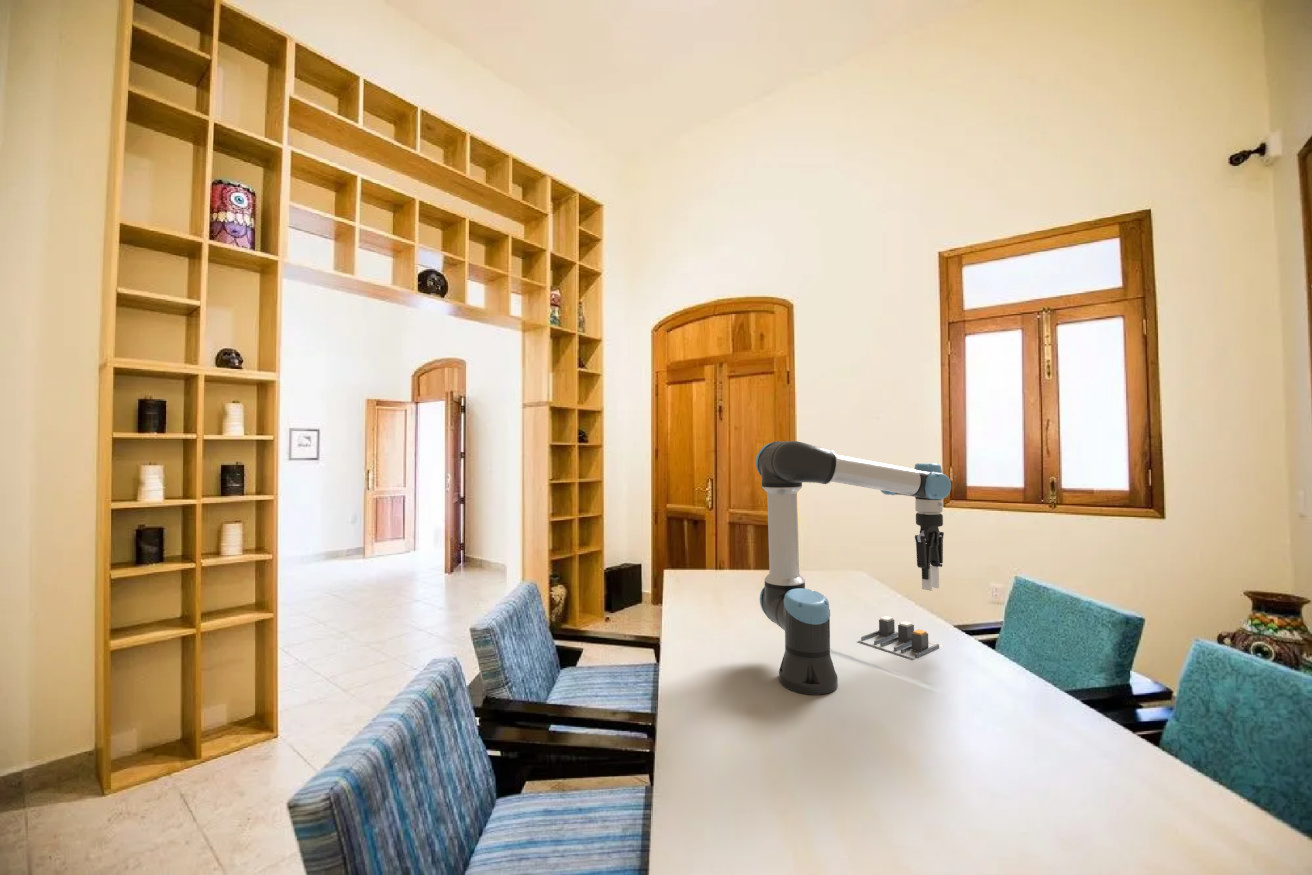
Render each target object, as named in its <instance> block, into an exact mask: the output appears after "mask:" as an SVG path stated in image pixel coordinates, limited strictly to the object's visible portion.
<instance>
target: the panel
mask: <svg viewBox="0 0 1312 875" xmlns="http://www.w3.org/2000/svg"><path fill="white" fill-rule="evenodd" d="M876 636H880V635H879V629H878V630H876V631H873V632H870V633H868V634H866V635H863V636H861V638H860V640H858V641H856V643H858V644H860V645H864V646H866V647H870V648H873V649H876V650H878V651H882V652H884V653H888V654H890V655H891V654H892V655H894V656H898V657H900V658H902V659H903V658H904V659H907V660H910V661H914V660H915V659H918V658H920V657H923V656H925V655H927V654H929V653H931V652H934V651H935V650H938V649H939V648H941V647H944V645H942V644H939V643H936V642H933V641H930V640H928V645H929V644H930V645H932V646H928V648H927V649H925V650H922V651H920V652H915V654H914V658H913V657H911V656H907V655H904V653H907V652H910V651H913V650H912V640H910V641H907V642H905V643H903V642H902V643H900V644H898V645H896V646H893V651H892V650H889V649H886V648H883V647H885V646H888V645H890V644H893V643H894V642H897V641H898V631H895V633H893V634H890V635H888V636H885V637H884V636H882V637H880V638H878V639H875V640H874V641H873V644H874V645H873V644H870V643H867V642H864V641H866V640H868V639H871V638H874V637H876ZM898 642H899V641H898ZM879 644H880V646H877V645H879ZM875 645H876V646H875ZM898 651H900V653H898Z"/></svg>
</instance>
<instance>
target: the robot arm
mask: <svg viewBox="0 0 1312 875" xmlns="http://www.w3.org/2000/svg"><path fill="white" fill-rule="evenodd" d="M755 467H756V470H757V472H758V473H759V475H760V476H761V477H760V478H761V488H762V489H763V490H764V491H765V492H766V496H767V498H766V500H767V526H768V527H767V528H768V529H767V530H768V531H767V533H768V564H769V568H768V569H769V573H768V574H767V575H766V576H765V577H764V586H763V588H762V589H761V591H760V593H759V604H760V608H761V611H762V612H763V613H764V615H765V616H766V617H767V618H768V619H769V620H770V621H771V622H773V624H775V625H777V626H778V627H780V628H781V629H782V630H783V631H784V654H783V656H782V661H781V663H780V667H779V669H778V681H779V683H780V684H781V685H782V686H783V687H784V688H786V689H788V690H790V691H792V692H796V693H799V694H804V695H805V694H806V695H815V696H816V695H817V696H818V695H820V696H821V695H827V694H830V693H832V692H834V691H836V690H837V688H838V686H839V685H838V679H839V678H838V674H837V672H836V670H835V667H834V663H833V660H832V656H831V626H830V625H831V624H830V623H831V619H830V617H831V610H830V602H829V600H828V598H827V597H826V596H825V595H824V594H822V593H821V592H819V591H817V590H812V589H809V588H806V580H805V578H804V577H803V576H801V575H800V558H799V556H800V554H799V551H800V550H799V523H798V522H799V521H798V520H799V518H798V516H799V515H798V514H799V512H798V492H799V491H800V490H801V489H802V488H803V483H809V484H811V483H813V484H814V483H815V484H822V485H828V484H830V483H831V482H832V483H836V484H837V483H838V484H844V485H850V486H855V487H861V488H868V489H872V490H878V491H880V492H881V493H882V494H883V495H888V496H889V495H891V496H898V495H899V496H906V497H913V498H915V505H914V506H915V512H916V513H915V525H917V526H919V534H915V535H914V540H915V547H916V566H917V568H920V569H921V589H922V590H925V591H930V592H931V591H933V588H934V589H940V568H942V567H943V562H944V555H943V554H944V534H945V533H944V531H940V529H939V528H940V527H943V525H944V515H943V514H942V512H944V511H943V506H944V503H943V500H944V499H946V498H947V497H948V496H949V495H950V493H951V490H952V482H951V480H950V477H949V476H948V475H946V474H944V473H943V471H942V466H941V464H939V463H935V462H934V463H933V462H932V463H931V462H929V463H928V462H924V463H923V462H922V463H921V462H920V463H915V464H914V468H910V467H905V466H900V465H895V464H888V463H883V462H879V461H872V460H867V459H862V458H858V457H857V458H856V457H851V456H846V455H840V454H836V453H835V451H834V450H833V449H828V448H823V447H820V446H816V445H812V444H809V443H806V442H801V441H798V440H797V441H796V440H790V441H789V440H788V441H787V440H786V441H785V440H784V441H779V440H778V441H773V442H769V443H767V444H765V445H763V446H762V448H760V450H759V451H758V453H757V454H756V458H755Z"/></svg>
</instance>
